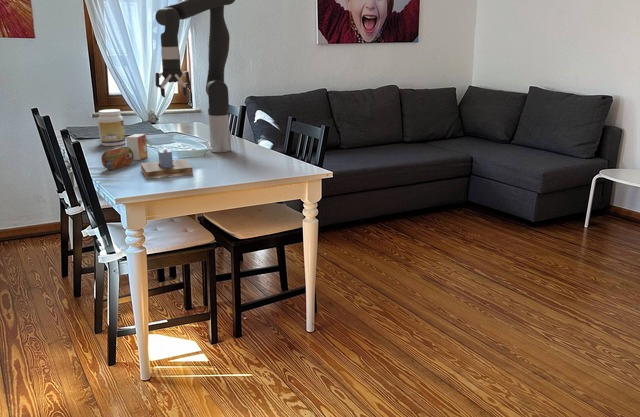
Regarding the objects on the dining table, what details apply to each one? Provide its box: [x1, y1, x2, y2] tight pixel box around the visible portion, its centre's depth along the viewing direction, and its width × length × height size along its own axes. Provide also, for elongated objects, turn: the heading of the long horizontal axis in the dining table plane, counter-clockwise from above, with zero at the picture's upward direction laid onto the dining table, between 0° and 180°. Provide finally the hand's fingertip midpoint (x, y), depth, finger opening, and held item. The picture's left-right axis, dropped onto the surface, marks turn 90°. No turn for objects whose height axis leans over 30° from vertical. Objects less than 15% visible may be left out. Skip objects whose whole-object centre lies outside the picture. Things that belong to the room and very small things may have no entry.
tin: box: [101, 146, 134, 171], centre depth 249 cm, size 15×3×8 cm, turn 148°
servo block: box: [157, 148, 173, 168], centre depth 239 cm, size 4×9×9 cm, turn 24°
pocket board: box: [140, 158, 194, 180], centre depth 240 cm, size 18×16×3 cm
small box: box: [125, 133, 148, 161], centre depth 264 cm, size 8×6×10 cm
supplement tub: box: [97, 108, 127, 147], centre depth 294 cm, size 12×12×17 cm
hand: (173, 96), depth 253 cm, fingers open, 8 cm apart
